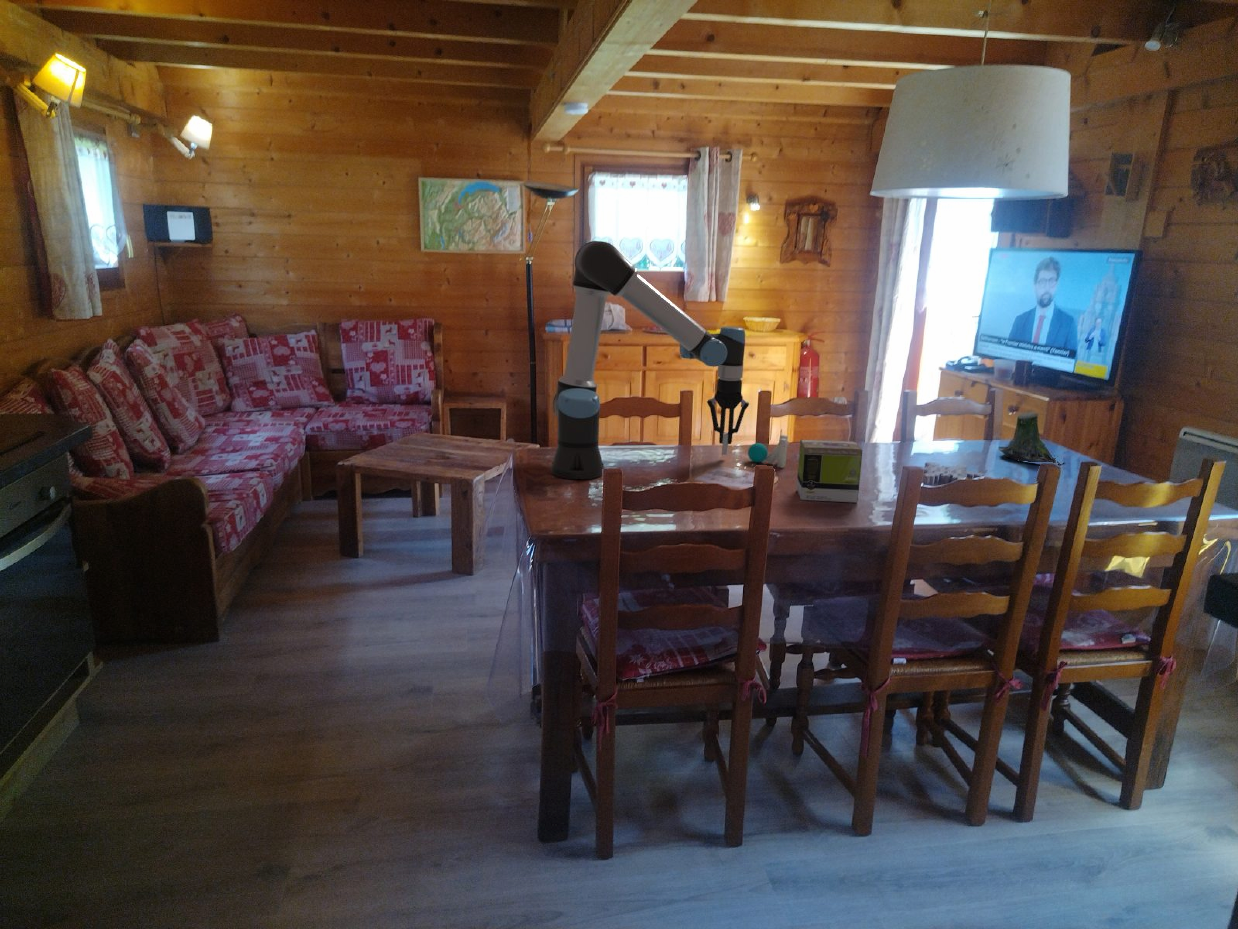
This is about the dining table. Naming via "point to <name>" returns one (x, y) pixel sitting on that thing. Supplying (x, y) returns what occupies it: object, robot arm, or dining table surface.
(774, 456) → the front pin
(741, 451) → the dining table surface
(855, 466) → the tea box
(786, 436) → the pin
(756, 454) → the ball
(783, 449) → the pin
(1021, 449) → the tree stump
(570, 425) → the robot arm
